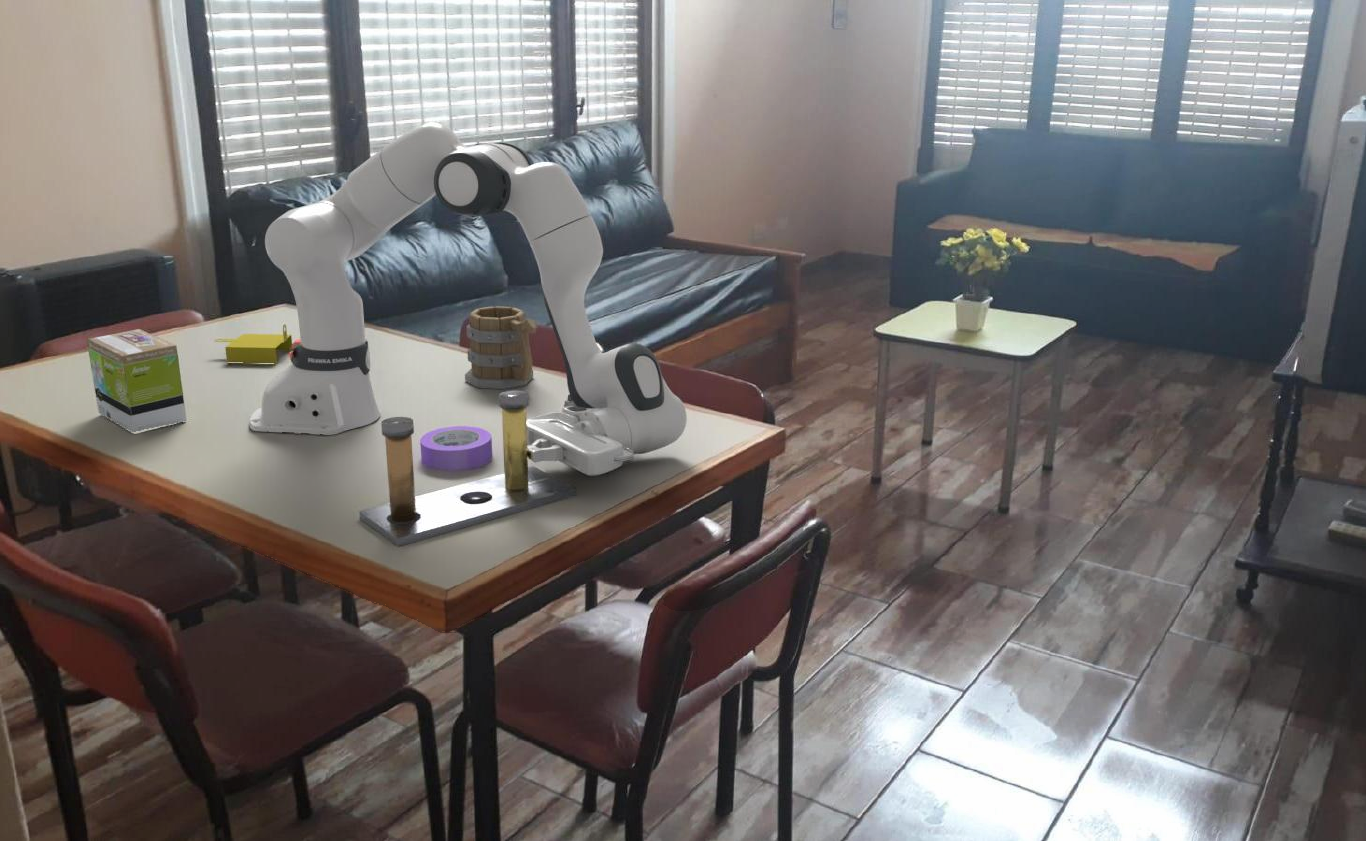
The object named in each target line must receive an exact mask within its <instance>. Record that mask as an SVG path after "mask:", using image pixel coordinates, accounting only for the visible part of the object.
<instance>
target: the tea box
mask: <svg viewBox="0 0 1366 841" xmlns="http://www.w3.org/2000/svg"><path fill="white" fill-rule="evenodd" d="M86 345H87V351H88V357H89V362H90V370H91V374H92V375H91V376H92V380H93V388H94V392H95V397H96V398H95V399H96V406H97V410H98V414H99V413H100V414H101V415H100V414H99V415H100V416H102V415H103V416H102V417H104V416H105V417H104V418H106V417H108V418H109V419H111V420H113V421H114V422H116V423H118V424H119V425H121V426H123V427H125V428H126V429H128V430H130V431H132V432H136V431H141V430H144V429H149V428H154V427H159V426H163V425H169V424H174V423H178V422H183V421H186V422H187V412H186V405H185V399H184V391H183V385H182V384H183V383H182V376H181V368H180V362H179V353H178V347H177V345H176V344H175V343H171V342H169V341H168V340H165V339H163V338H160V337H159V336H156V335H154V334H152V333H149V332H148V331H145V330H142V329H140V328H137V329H131V330H127V331H123V332H122V331H121V332H117V333H112V334H107V335H102V336H96V337H91V338H87V339H86ZM108 418H107V419H108ZM109 419H108V420H109ZM114 422H113V423H114ZM116 423H115V424H116ZM183 423H184V422H183ZM119 425H118V426H119ZM121 426H120V427H121ZM123 427H122V428H123ZM126 429H125V430H126Z"/></svg>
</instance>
